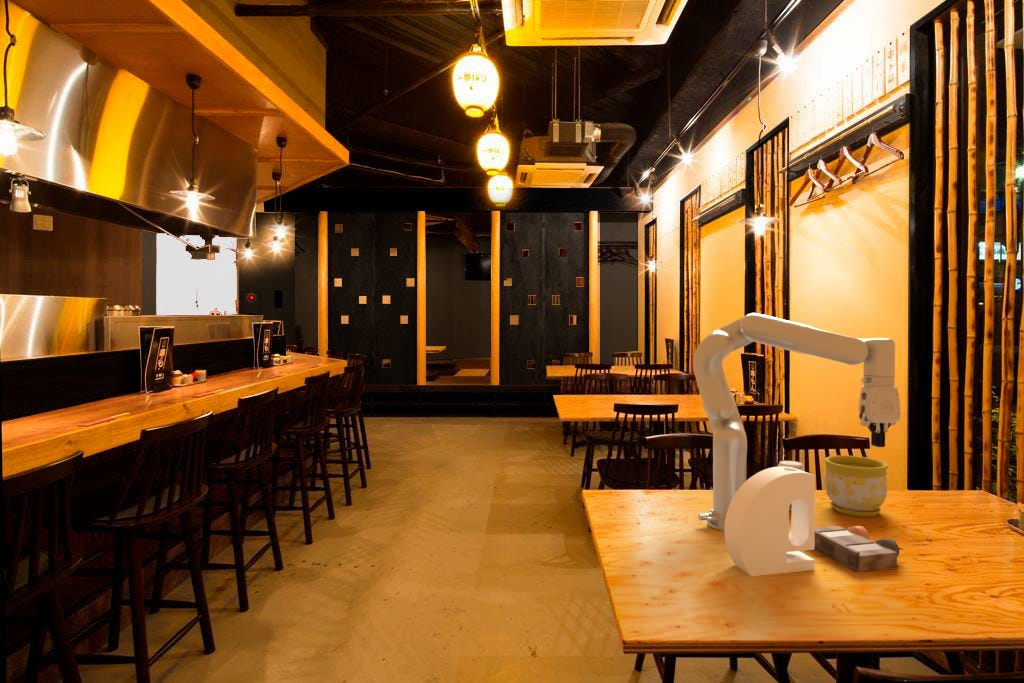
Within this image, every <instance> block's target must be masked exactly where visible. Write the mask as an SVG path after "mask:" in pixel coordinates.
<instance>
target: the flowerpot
mask: <svg viewBox="0 0 1024 683" xmlns="http://www.w3.org/2000/svg"><path fill="white" fill-rule="evenodd" d="M824 463H825V464H826V466H825V475H824V488H825V492H826V495H827V496H828V498H829V500H830V501H831V502H830V506H831V507H832V508H833V509H834V510H835V511H836V512H839V513H840V514H844V515H847V516H853V517H859V518H860V517H861V518H862V517H863V518H864V517H865V518H867V517H869V518H870V517H875V516H877V515H878V514H879V513H880V512H881V511H882V510H881V508H880V507H881V506H882V505H883V504H884V502H885V501H886V498H887V495H888V480H887V475H888V474H887V469H889V464H887V463H886V462H885V461H883V460H879V459H876V458H870V457H864V456H859V455H858V456H857V455H830V456H827V457H825V458H824Z"/></svg>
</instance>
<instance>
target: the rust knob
mask: <svg viewBox="0 0 1024 683" xmlns="http://www.w3.org/2000/svg"><path fill="white" fill-rule="evenodd" d="M822 534H824V535H826V536H828V537H837V536H848V535H860V536H862V537H864V538H867V539H869V540H870V537H869V536H870V535H869V533H868V530H867V529H866V528H865V527H864V526H862V525H854V526H852V525H851V526H848V527H847V528H846V530H845V531H833V532H822Z"/></svg>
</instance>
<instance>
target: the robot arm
mask: <svg viewBox="0 0 1024 683" xmlns="http://www.w3.org/2000/svg"><path fill="white" fill-rule="evenodd" d="M754 342H755V343H758V344H762V345H766V346H770V347H774V348H776V349H777V348H778V349H782V350H785V351H791V352H794V353H798V354H804V355H809V356H815V357H818V358H822V359H826V360H832V361H835V362H838V363H843V364H845V365H846V364H847V365H851V366H855V365H856V366H857V365H859V364H861V363H862V364H863V374H862V375H863V377H862V378H861V380H860V381H861V383H863V385H862V386H861V389H860V394H859V401H858V418H859V420H860V422H859V424H860V426H863V427H867V428H868V431H869V432H870V433H871V435H870V436H871V438H870V444H871V446H873V447H877V448H885V447H886V434H887V433H888V431H889V428H890V427H891V426H895V425H896V424H897V422H899V421H900V420H901V401H900V393H899V391H898V389H899V388H898V387H897V386H896V384H895V383H896V381H895V380H896V379H895V378H896V377H895V376H896V374H895V373H896V342H895V341H894V339H893V338H890V337H889V338H888V337H871V338H869V337H868V338H859V337H858V338H857V337H853V336H849V335H844V334H839V333H836V332H831V331H827V330H823V329H819V328H815V327H813V326H811V325H809V324H805V323H800V322H797V321H791V320H788V319H787V320H786V319H782V318H780V317H779V318H778V317H775V316H770V315H768V314H767V315H766V314H761V313H759V312H757V313H756V312H751V313H747V314H746V315H743V316H742V317H740V318H739V319H737V320H734V321H733V322H730V323H729V324H726V325H724V326H722V327H720V328H718V329H716V330H714V331H711V332H710V333H709V334H707V335H706V337H704V339H703V340H702V341H701V342H700V343H699V344H698V346H697V347H696V349H695V351H694V354H693V358H692V359H693V360H692V367H693V373H694V376H695V379H696V383H697V387H698V391H699V394H700V397H701V401H702V407H703V410H704V412H705V413H706V415H707V419H708V422H709V426H710V428H711V431H712V434H713V435H712V458H713V459H712V460H713V461H712V475H713V476H712V481H713V483H712V484H713V485H712V492H713V493H712V495H713V496H712V499H713V500H712V506H713V507H712V509H711V508H710V509H709V511H708V512H707V513H699V514H698V515H697V516H698V517H697V518H698V520H699V521H706V522H707V524H708V526H709V527H711V528H713V529H715V530H716V531H717V530H719V531H722V532H724V528H725V519H726V514H727V510H728V507H729V505H730V503H731V500H732V498H733V497H734V495H735V493H736V492H737V491H738V489H739V488H740V487H741V486H742V485H743V484H744V483H745V482H746V481H747V455H748V454H747V452H748V439H747V438H748V437H747V433H746V431H745V426H744V425H743V420H742V419H741V415H740V413H739V409H738V405H737V403H736V400H735V396H734V394H733V393H732V392H731V390H730V388H729V385H728V382H727V377H726V375H725V371H724V368H723V362H724V359H725V358H726V357H728V356H729V355H730V354H731V353H733V352H735V351H737V350H739V349H741V348H744V347H747V345H750V344H752V343H754Z"/></svg>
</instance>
